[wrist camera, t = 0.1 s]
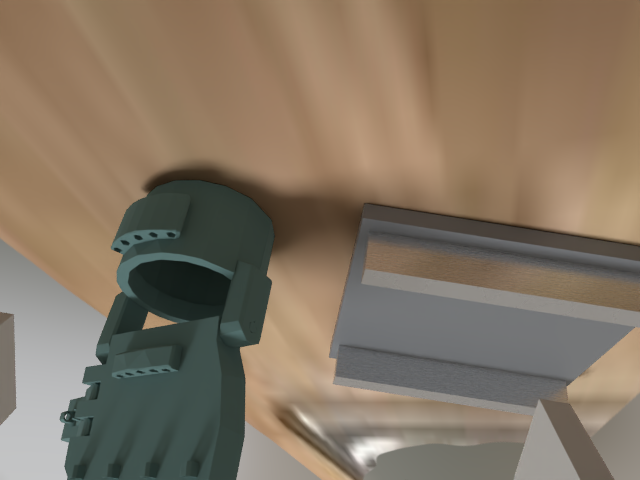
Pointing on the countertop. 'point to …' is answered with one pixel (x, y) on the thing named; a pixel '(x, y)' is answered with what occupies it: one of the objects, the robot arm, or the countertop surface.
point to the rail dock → (478, 309)
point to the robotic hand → (175, 340)
